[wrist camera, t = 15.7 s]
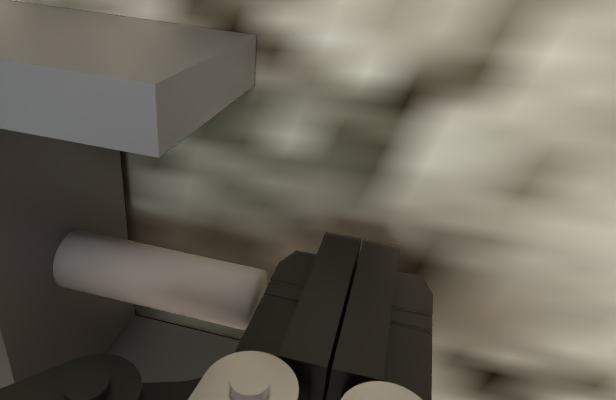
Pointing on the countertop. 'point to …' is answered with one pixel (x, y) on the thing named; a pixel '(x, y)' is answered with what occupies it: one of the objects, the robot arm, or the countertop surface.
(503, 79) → the countertop surface
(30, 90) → the lane
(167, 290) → the pusher
